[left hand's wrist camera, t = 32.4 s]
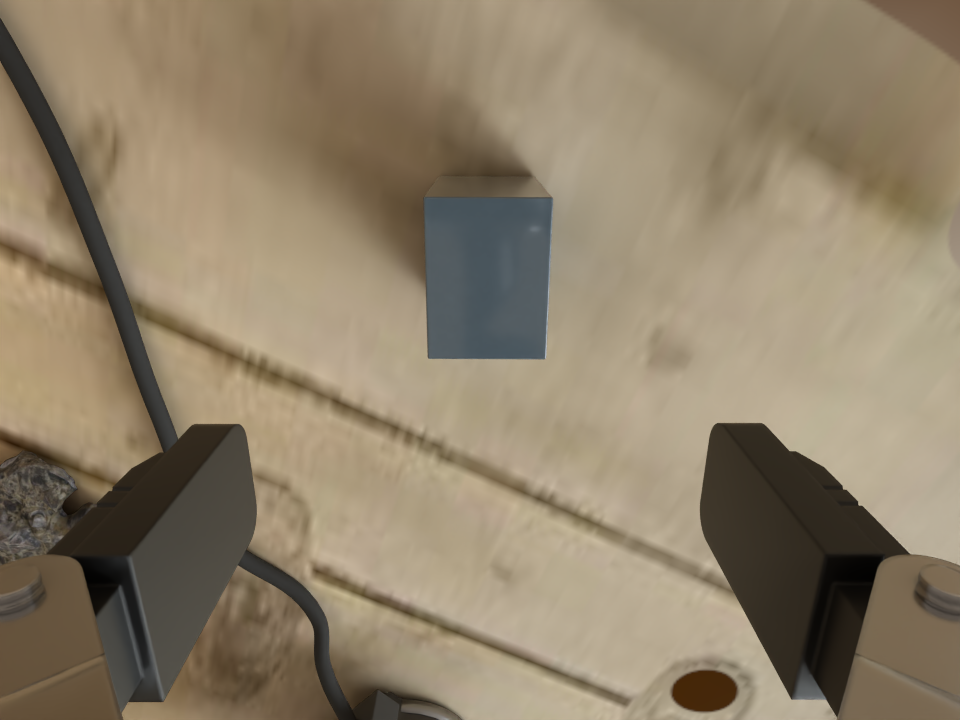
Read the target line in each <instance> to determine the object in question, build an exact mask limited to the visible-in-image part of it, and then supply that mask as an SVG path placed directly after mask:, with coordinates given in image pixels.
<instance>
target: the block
mask: <svg viewBox="0 0 960 720" xmlns="http://www.w3.org/2000/svg"><path fill="white" fill-rule="evenodd" d="M423 203H424V239H425V276H426V312H427V349H428V358H429V359H546V351H547V328H548V305H549V283H550V260H551V237H552V215H553V197H552V196H551V195H550V194H549V193H548V192H547V190H546V189H545V188H544V187H543V186H542V184H541V183H540V182H539V181H538V180H537V178H536V177H529V176H439V177H438V178H437V180H436V181H435V183H434V184H433V185H432V187H431V188H430V189H429V191H428V192H427V194H426V195H425V196H424V198H423Z"/></svg>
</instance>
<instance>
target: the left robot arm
mask: <svg viewBox="0 0 960 720" xmlns="http://www.w3.org/2000/svg"><path fill="white" fill-rule="evenodd" d="M0 61H1V63H2V65H3V67H4V69H5V70H6V72H7V74H8V76H9V77H10V79H11V81H12V83H13V85H14V87H15V88H16V90H17V92H18V94H19V96H20V98H21V99H22V101H23V103H24V105H25V107H26V109H27V111H28V113H29V114H30V116H31V118H32V120H33V122H34V124H35V126H36V128H37V130H38V132H39V134H40V136H41V138H42V140H43V142H44V145H45V147H46V149H47V151H48V153H49V155H50V157H51V160H52V162H53V164H54V166H55V169H56V171H57V173H58V176H59V178H60V180H61V183H62V185H63V187H64V190H65V192H66V195H67V197H68V199H69V202H70V204H71V207H72V209H73V212H74V214H75V217H76V219H77V222H78V224H79V227H80V229H81V232H82V235H83V237H84V240H85V242H86V245H87V247H88V250H89V252H90V255H91V257H92V260H93V262H94V265H95V267H96V270H97V272H98V275H99V277H100V280H101V282H102V285H103V288H104V290H105V293H106V296H107V298H108V301H109V304H110V307H111V309H112V312H113V315H114V318H115V321H116V324H117V327H118V330H119V333H120V336H121V339H122V342H123V344H124V347H125V350H126V353H127V356H128V359H129V362H130V365H131V368H132V371H133V374H134V376H135V379H136V382H137V385H138V387H139V390H140V393H141V395H142V398H143V400H144V403H145V405H146V408H147V410H148V413H149V415H150V418H151V420H152V423H153V425H154V428H155V430H156V433H157V436H158V438H159V441H160V444H161V446H162V449H163V452H164V453H158V454H157V455H155V456H153V457H151V458H149V459H148V460H146V461H144V462H142V463H141V464H139V465H137V466H135V467H133V468H132V469H131V470H130V471H129V472H128V473H127V474H126V475H125V476H124V477H123V478H122V479H121V480H120V481H119V482H118V483H117V484H116V485H115V486H114V487H113V491H109V492H108V493H107V494H106V495H105V496H104V497H103V498H102V499H101V500H100V501H99V502H98V503H97V507H93V508H92V509H91V510H90V511H89V512H88V513H87V514H86V515H85V516H84V517H83V518H82V519H81V520H80V521H79V522H78V523H77V524H76V525H75V526H74V527H73V528H72V529H71V530H70V531H69V532H68V533H67V534H66V535H65V536H64V537H63V538H62V539H61V540H60V541H59V542H58V543H57V544H56V545H55V546H54V547H53V548H52V549H51V550H50V551H49V552H48V553H47V554H46V555H38V556H32V557H27V558H22V559H19V560H15V561H12V562H9V563H6V564H3V565H1V566H0V720H123V717H122V714H121V713H122V711H123V710H124V708H125V706H126V705H127V703H128V702H163V701H164V700H165V698H166V696H167V694H168V692H169V690H170V689H171V687H172V685H173V683H174V681H175V679H176V678H177V676H178V674H179V672H180V670H181V668H182V667H183V665H184V663H185V661H186V659H187V657H188V656H189V654H190V652H191V650H192V648H193V646H194V645H195V643H196V641H197V639H198V637H199V635H200V633H201V632H202V630H203V628H204V626H205V624H206V622H207V621H208V619H209V617H210V615H211V613H212V611H213V610H214V608H215V606H216V604H217V602H218V600H219V599H220V597H221V595H222V593H223V591H224V589H225V588H226V586H227V584H228V582H229V580H230V578H231V577H232V575H233V573H234V571H235V569H236V567H237V565H239V566H240V567H242V568H243V569H245V570H247V571H249V572H250V573H252V574H254V575H256V576H257V577H259V578H261V579H263V580H265V581H267V582H268V583H270V584H272V585H274V586H275V587H277V588H278V589H280V590H282V591H283V592H284V593H286V594H287V595H288V596H290V597H291V598H292V599H293V600H294V601H295V602H296V603H297V604H298V605H299V606H300V607H301V608H302V610H303V611H304V612H305V613H306V615H307V617H308V618H309V620H310V622H311V623H312V626H313V629H314V658H315V665H316V670H317V673H318V676H319V679H320V682H321V685H322V687H323V690H324V692H325V694H326V696H327V698H328V700H329V702H330V704H331V706H332V708H333V710H334V712H335V713H336V715H337V717H338V719H339V720H461V719H460V718H459V717H458V716H457V715H455V714H454V713H452V712H451V711H449V710H447V709H445V708H443V707H441V706H438V705H436V704H433V703H429V702H425V701H419V700H405V699H401V698H399V697H398V696H396V695H395V694H393V693H391V692H388V693H386V694H384V693H382V692H381V691H379V690H376V691H375V692H374V693H373V694H371V695H370V696H369V697H368V698H366V699H365V700H364V701H363V702H361V703H360V704H359V705H358V706H356V707H355V708H354V709H353V710H352V709H351V707H350V705H349V703H348V701H347V700H346V698H345V696H344V694H343V692H342V690H341V688H340V686H339V684H338V682H337V679H336V677H335V674H334V672H333V669H332V665H331V662H330V657H329V628H328V622H327V619H326V616H325V614H324V612H323V611H322V609H321V607H320V606H319V604H318V602H317V601H316V600H315V599H314V597H313V596H312V595H311V594H310V592H309V591H307V590H306V589H305V588H304V587H303V586H302V585H301V584H300V583H299V582H297V581H296V580H295V579H293V578H292V577H290V576H289V575H287V574H286V573H284V572H283V571H281V570H279V569H278V568H276V567H274V566H272V565H271V564H269V563H267V562H265V561H263V560H262V559H260V558H258V557H256V556H255V555H253V554H251V553H250V552H248V551H247V550H246V549H247V547H248V545H249V543H250V541H251V539H252V537H253V534H254V530H255V525H256V516H257V506H256V497H255V491H254V484H253V477H252V470H251V463H250V456H249V449H248V442H247V437H246V433H245V430H244V428H243V427H242V426H241V425H240V424H194V425H192V426H191V427H190V428H189V429H188V430H187V431H186V432H185V433H184V434H183V435H182V436H181V437H180V438H179V439H178V437H177V435H176V432H175V429H174V426H173V424H172V421H171V418H170V416H169V413H168V411H167V408H166V405H165V403H164V400H163V398H162V395H161V393H160V390H159V387H158V385H157V382H156V379H155V376H154V374H153V371H152V368H151V365H150V362H149V359H148V356H147V353H146V350H145V347H144V344H143V341H142V338H141V334H140V331H139V328H138V325H137V322H136V319H135V316H134V313H133V310H132V307H131V304H130V301H129V298H128V296H127V293H126V290H125V287H124V284H123V282H122V279H121V276H120V274H119V271H118V268H117V266H116V263H115V261H114V258H113V255H112V253H111V250H110V248H109V245H108V243H107V240H106V237H105V235H104V232H103V230H102V227H101V224H100V222H99V219H98V217H97V214H96V211H95V209H94V206H93V204H92V201H91V198H90V196H89V193H88V191H87V188H86V186H85V183H84V181H83V178H82V176H81V174H80V171H79V169H78V167H77V164H76V162H75V160H74V157H73V155H72V153H71V151H70V148H69V146H68V144H67V142H66V140H65V137H64V135H63V133H62V131H61V129H60V127H59V125H58V123H57V121H56V119H55V117H54V115H53V113H52V111H51V109H50V107H49V105H48V103H47V101H46V99H45V97H44V95H43V93H42V91H41V90H40V88H39V86H38V84H37V82H36V80H35V78H34V77H33V75H32V73H31V71H30V69H29V67H28V66H27V64H26V62H25V60H24V58H23V57H22V55H21V53H20V51H19V49H18V48H17V46H16V44H15V42H14V41H13V39H12V37H11V35H10V34H9V32H8V30H7V29H6V27H5V25H4V23H3V22H2V20H1V19H0ZM700 519H701V526H702V530H703V534H704V537H705V539H706V541H707V543H708V545H709V547H710V549H711V550H712V552H713V554H714V556H715V558H716V560H717V562H718V564H719V565H720V567H721V569H722V571H723V573H724V575H725V577H726V578H727V580H728V582H729V584H730V586H731V588H732V590H733V591H734V593H735V595H736V597H737V599H738V601H739V603H740V604H741V606H742V608H743V610H744V612H745V614H746V616H747V617H748V619H749V621H750V623H751V625H752V627H753V629H754V630H755V632H756V634H757V636H758V638H759V640H760V642H761V644H762V645H763V647H764V649H765V651H766V653H767V655H768V657H769V658H770V660H771V662H772V664H773V666H774V668H775V670H776V671H777V673H778V675H779V677H780V679H781V681H782V683H783V684H784V686H785V688H786V690H787V692H788V694H789V696H790V697H791V699H792V700H827V701H828V703H829V705H830V706H831V708H832V710H833V711H834V713H835V715H836V716H837V720H960V566H959V565H957V564H954V563H951V562H948V561H945V560H941V559H938V558H933V557H928V556H922V555H910V554H909V553H908V552H907V551H906V550H905V549H904V547H903V546H902V545H901V544H900V543H899V542H898V541H897V540H896V539H895V538H894V537H893V536H892V535H891V534H890V533H889V532H888V531H887V530H886V529H885V528H884V527H883V526H882V525H881V524H880V523H879V522H878V521H877V520H876V519H875V518H874V517H873V516H872V515H871V514H870V513H869V512H868V511H867V510H866V509H865V508H864V507H863V506H859V505H858V501H857V500H856V499H855V498H854V497H853V496H852V495H851V494H850V493H849V492H848V491H847V490H843V486H842V485H841V484H840V483H839V482H838V481H837V480H836V479H835V478H834V477H833V476H832V475H831V474H830V473H829V472H828V471H827V470H826V469H825V468H824V467H823V466H821V465H819V464H817V463H816V462H814V461H812V460H810V459H808V458H807V457H805V456H803V455H801V454H800V453H798V452H796V451H789V450H788V449H787V448H786V447H785V446H784V445H783V444H782V443H781V442H780V441H779V439H778V438H777V437H776V436H775V435H774V434H773V433H772V432H771V431H770V430H769V429H768V428H767V427H766V426H765V425H764V424H762V423H717V424H715V425H714V426H713V428H712V430H711V433H710V438H709V445H708V452H707V459H706V466H705V473H704V480H703V487H702V494H701V501H700Z"/></svg>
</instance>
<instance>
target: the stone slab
mask: <svg viewBox="0 0 960 720" xmlns="http://www.w3.org/2000/svg"><path fill="white" fill-rule="evenodd" d="M76 490H77V487H76V485H75V481H74V479H73V478H72V477H71V476H69V475H68V474H67V473H66V472H65V470H64V469H62V468H59V467H57V466H54V465H51V464H48V463H46V462H45V461H44V460H42V459H41V458H38V457H37V455H36V454H34V453H32V452H27V451H22V452H21V453H20V454H19V455H17V456H16V457H13V458H10V459H8V460H6V461H5V462H4V463H2V464H1V465H0V566H1V565H3V564H6V563H9V562H12V561H15V560H19V559H22V558H27V557H32V556H38V555H46V554H47V553H48V552H49V551H50V550H51V549H52V548H53V547H54V546H55V545H56V544H57V543H58V542H59V541H60V540H61V539H62V538H63V537H64V536H65V535H66V534H67V533H68V532H69V531H70V530H71V529H72V528H73V527H74V526H75V525H76V524H77V523H78V522H79V521H80V520H81V519H82V518H83V517H84V516H85V515H86V514H87V513H88V512H89V511H90V510H91V509H92V508H93V507H97V504H93V503H90V502H89V503H87V504H85V505H83V506H82V507H80V508H79V509H78V510H77V511H76V512H75V513H73V514H71V515H67V514H66V513H65V512H64V511H63V508H62V505H63V502H64V501H65V500H66V499H67V498H68V497H69V496H70V495H71V494H72V493H73V492H74V491H76Z"/></svg>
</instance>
